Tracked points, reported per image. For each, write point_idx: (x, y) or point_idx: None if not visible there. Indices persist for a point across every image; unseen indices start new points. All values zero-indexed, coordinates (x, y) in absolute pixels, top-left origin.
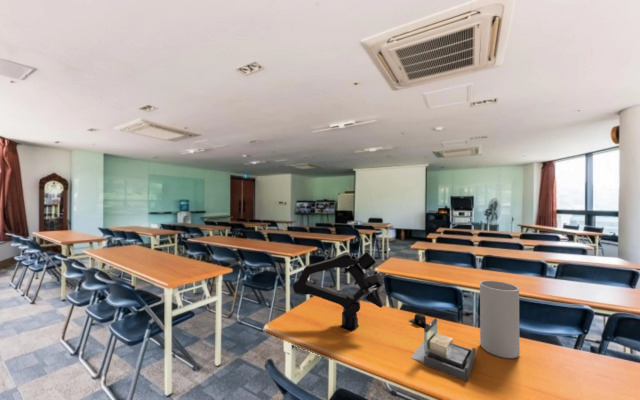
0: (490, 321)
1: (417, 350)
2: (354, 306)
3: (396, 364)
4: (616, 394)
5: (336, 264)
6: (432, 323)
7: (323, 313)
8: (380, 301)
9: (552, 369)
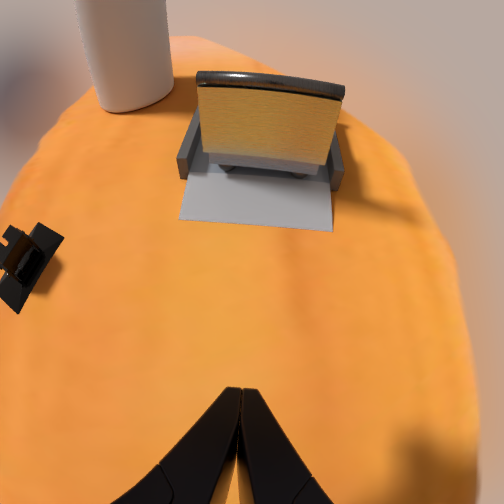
0: (156, 24)
1: (262, 222)
2: None
3: (403, 260)
4: (206, 39)
5: None
6: (263, 73)
7: None
8: (221, 430)
9: (177, 59)
